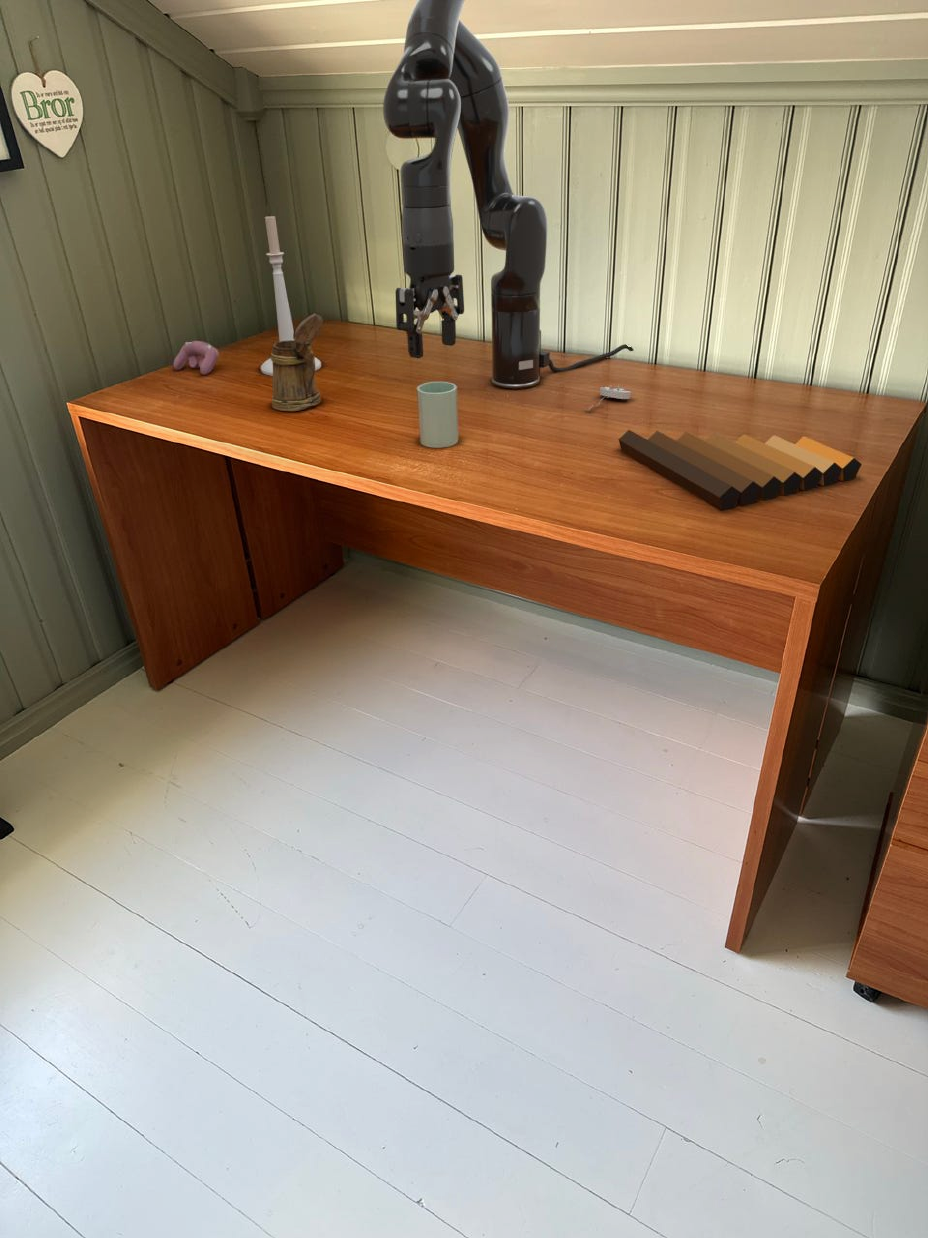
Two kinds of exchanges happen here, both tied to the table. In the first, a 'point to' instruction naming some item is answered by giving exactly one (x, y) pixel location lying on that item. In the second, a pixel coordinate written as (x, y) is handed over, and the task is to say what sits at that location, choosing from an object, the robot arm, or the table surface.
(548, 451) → the table surface
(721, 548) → the table surface
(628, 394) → the game controller
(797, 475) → the pan flute
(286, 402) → the wooden mug
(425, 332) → the table surface
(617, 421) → the table surface
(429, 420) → the cup
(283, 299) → the candlestick
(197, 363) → the video game controller
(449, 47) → the robot arm
